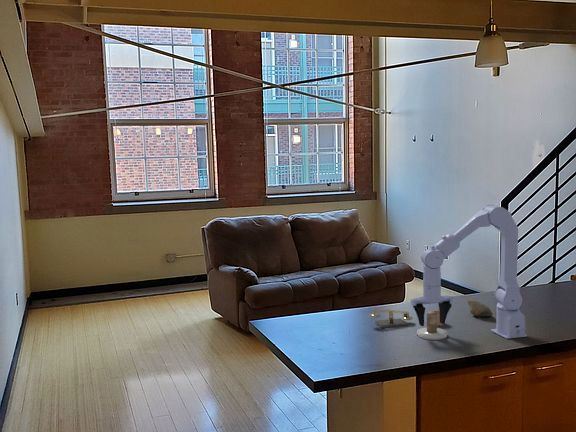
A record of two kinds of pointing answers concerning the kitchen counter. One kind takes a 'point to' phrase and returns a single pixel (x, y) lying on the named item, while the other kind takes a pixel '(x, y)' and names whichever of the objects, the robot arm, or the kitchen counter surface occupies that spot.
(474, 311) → the fossil
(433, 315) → the peg
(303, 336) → the kitchen counter surface
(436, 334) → the white glossy domed part
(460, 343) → the kitchen counter surface
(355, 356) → the kitchen counter surface
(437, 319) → the sleeve
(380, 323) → the balance
